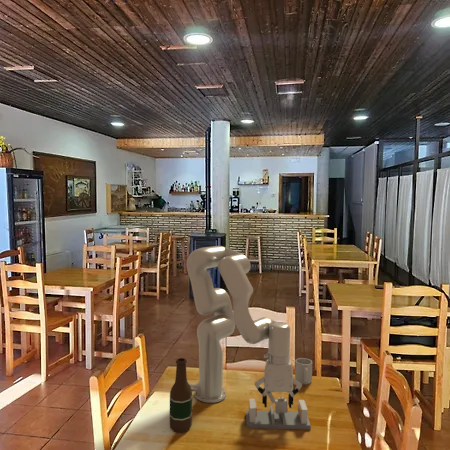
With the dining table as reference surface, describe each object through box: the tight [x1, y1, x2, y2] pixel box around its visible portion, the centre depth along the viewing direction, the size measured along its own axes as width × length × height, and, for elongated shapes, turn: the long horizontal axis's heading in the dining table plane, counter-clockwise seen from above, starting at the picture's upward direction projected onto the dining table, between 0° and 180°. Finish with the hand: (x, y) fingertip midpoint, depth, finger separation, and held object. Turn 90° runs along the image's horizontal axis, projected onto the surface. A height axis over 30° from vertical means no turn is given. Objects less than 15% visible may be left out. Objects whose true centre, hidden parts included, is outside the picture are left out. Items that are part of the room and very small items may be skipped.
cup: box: [294, 357, 313, 386], centre depth 176 cm, size 7×10×9 cm
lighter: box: [267, 392, 288, 414], centre depth 145 cm, size 7×2×8 cm, turn 93°
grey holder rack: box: [245, 398, 312, 431], centre depth 145 cm, size 22×9×6 cm, turn 89°
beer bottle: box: [169, 357, 193, 434], centre depth 140 cm, size 8×8×24 cm
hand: (277, 405), depth 145 cm, fingers open, 8 cm apart
